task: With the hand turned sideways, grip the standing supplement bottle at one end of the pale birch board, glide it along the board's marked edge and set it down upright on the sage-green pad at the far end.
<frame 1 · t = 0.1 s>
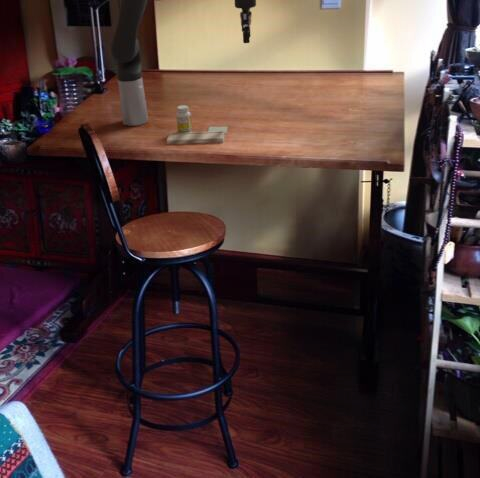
hand: (247, 40, 226), 29 cm above the table, tool pointing down, fingers open, 8 cm apart
birch board: (196, 139, 224), on the table
supplement bottle: (185, 132, 231), on the table
end pad: (217, 130, 230), on the table
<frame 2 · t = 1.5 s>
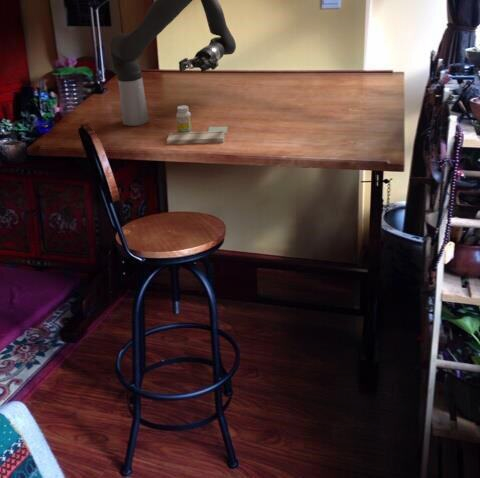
hand: (191, 69, 230), 20 cm above the table, tool horizontal, fingers open, 8 cm apart
nothing on the table moved.
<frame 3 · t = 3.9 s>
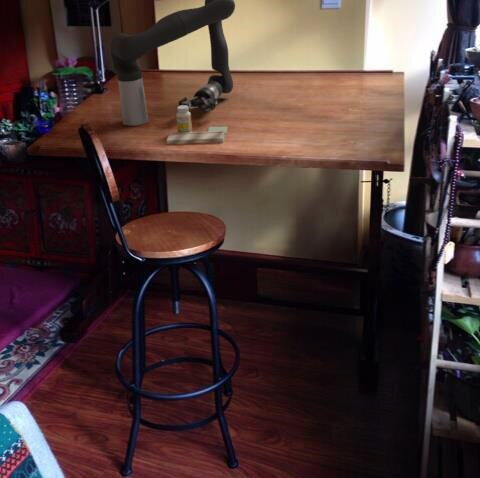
hand: (191, 109, 234), 6 cm above the table, tool horizontal, fingers open, 8 cm apart
nothing on the table moved.
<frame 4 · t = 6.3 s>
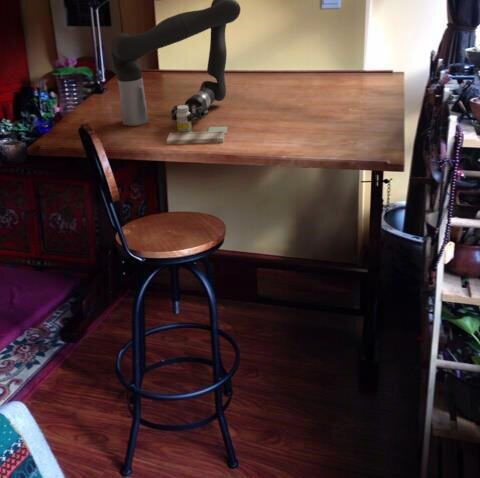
hand: (180, 118, 226), 6 cm above the table, tool horizontal, fingers closed on supplement bottle, 5 cm apart
supplement bottle: (185, 132, 231), on the table, touching gripper
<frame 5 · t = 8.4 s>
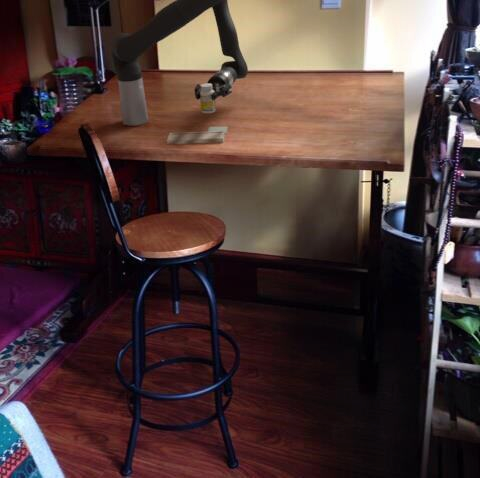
hand: (204, 97, 222), 14 cm above the table, tool horizontal, fingers closed on supplement bottle, 5 cm apart
supplement bottle: (208, 111, 227), point 7 cm above the table, touching gripper
when the fingers open (7 cm above the table, at t = 10.7 s): supplement bottle drops 1 cm, resting on end pad.
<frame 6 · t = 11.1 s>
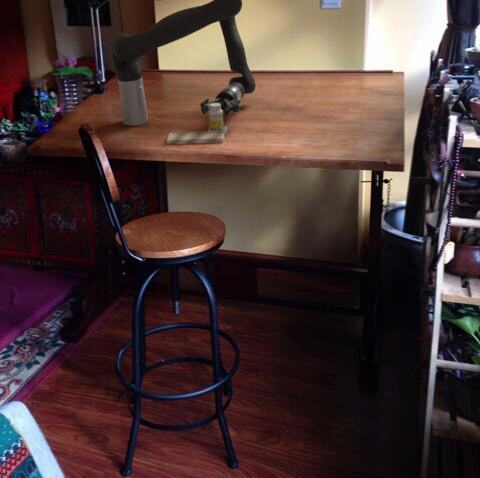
hand: (214, 112, 225), 8 cm above the table, tool horizontal, fingers open, 8 cm apart
supplement bottle: (217, 130, 230), resting on end pad
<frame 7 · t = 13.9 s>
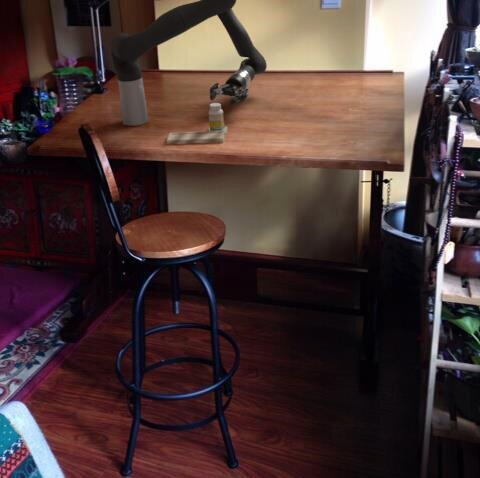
hand: (221, 100, 235), 8 cm above the table, tool horizontal, fingers open, 8 cm apart
nothing on the table moved.
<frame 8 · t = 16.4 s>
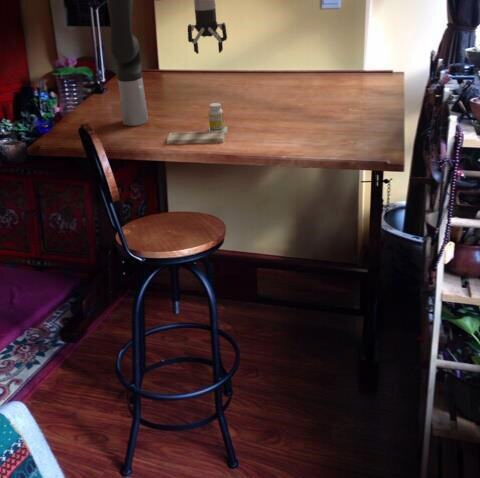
hand: (208, 52, 234), 24 cm above the table, tool pointing down, fingers open, 8 cm apart
nothing on the table moved.
at the end: supplement bottle 0.2 cm off-centre on the end pad, point 0.1 cm above the end pad's base; supplement bottle tilted 0°; the gripper is holding nothing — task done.
